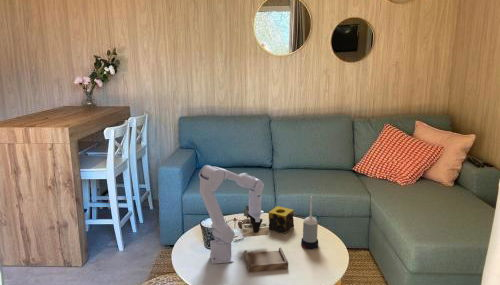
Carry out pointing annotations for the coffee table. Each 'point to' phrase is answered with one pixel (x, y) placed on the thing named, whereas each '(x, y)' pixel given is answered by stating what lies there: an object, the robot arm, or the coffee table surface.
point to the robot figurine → (246, 221)
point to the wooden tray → (266, 261)
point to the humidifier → (310, 231)
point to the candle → (281, 219)
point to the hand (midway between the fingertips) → (254, 229)
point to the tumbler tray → (248, 230)
